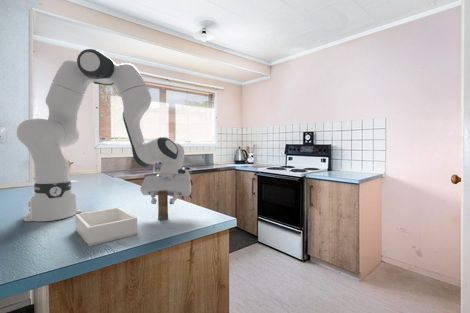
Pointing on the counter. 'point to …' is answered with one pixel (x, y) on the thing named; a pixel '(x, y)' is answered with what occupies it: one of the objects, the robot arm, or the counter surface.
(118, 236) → the bin
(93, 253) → the counter surface
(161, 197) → the brown wooden block
